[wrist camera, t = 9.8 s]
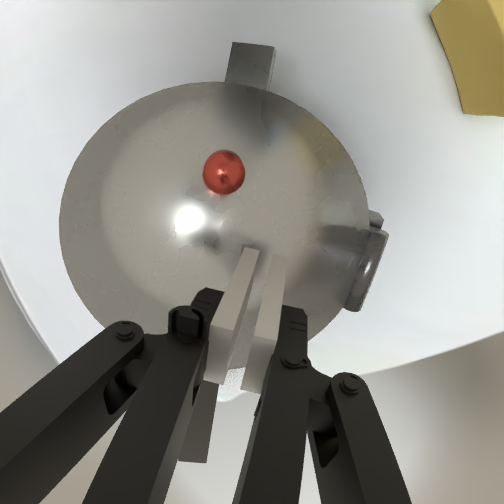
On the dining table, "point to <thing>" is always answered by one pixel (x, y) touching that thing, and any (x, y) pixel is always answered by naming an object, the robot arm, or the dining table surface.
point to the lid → (215, 215)
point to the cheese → (474, 51)
